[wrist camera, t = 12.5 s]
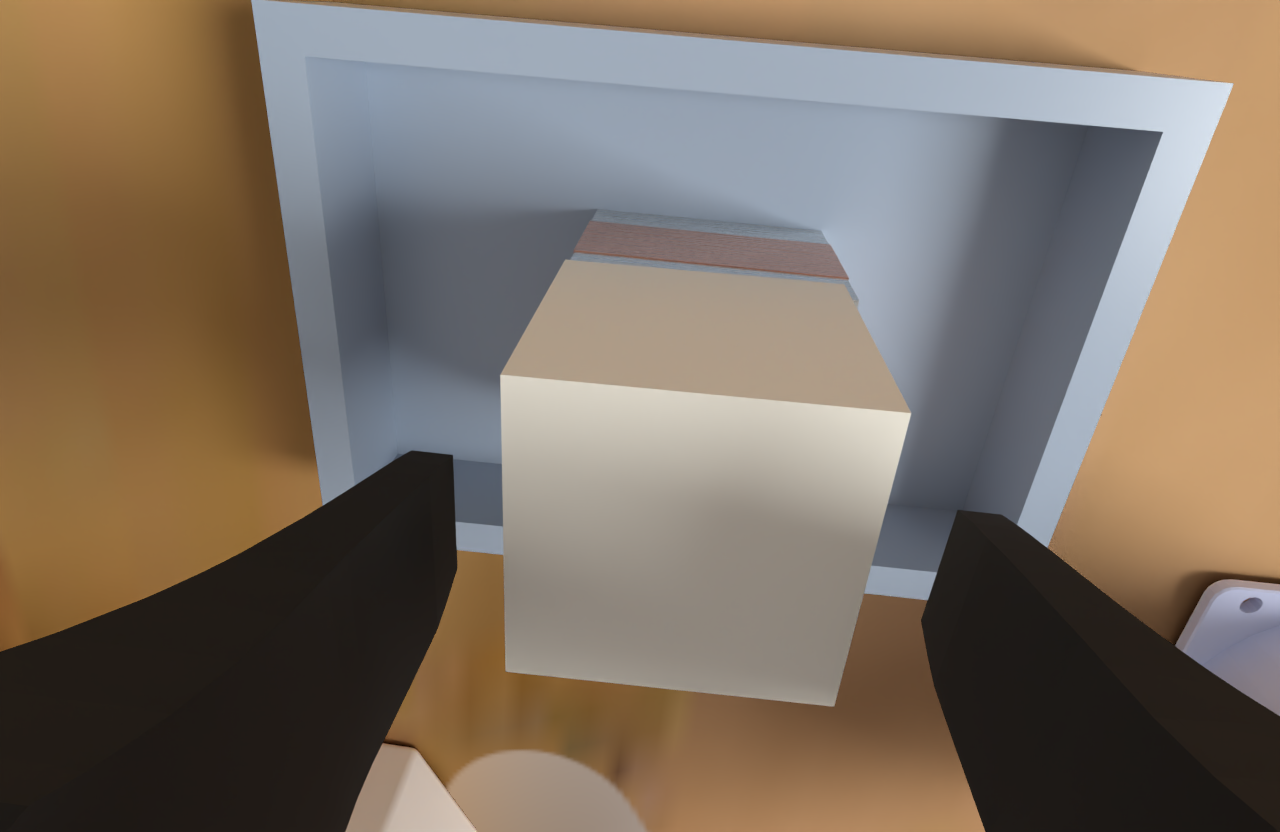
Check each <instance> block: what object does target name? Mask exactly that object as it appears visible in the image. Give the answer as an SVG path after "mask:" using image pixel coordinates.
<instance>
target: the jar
mask: <svg viewBox="0 0 1280 832" xmlns="http://www.w3.org/2000/svg"><path fill="white" fill-rule="evenodd" d="M345 832H477V830H476V828H475V827H474V825H473V824H472V823H471V821H470V820H469V819H468V817H467V816H466V815H465V813H464V812H463V811H462V809H461V808H460V806H459V805H458V804H457V803H456V801H455V800H454V798H453V797H452V796H451V794H450V793H449V792H448V790H447V789H446V788H445V786H444V785H443V784H442V782H441V781H440V780H439V778H438V777H437V776H436V774H435V773H434V772H433V770H432V769H431V768H430V766H429V765H428V764H427V762H426V761H425V759H424V758H423V757H422V755H421V754H420V753H419V751H418V750H416V749H415V748H411V747H405V746H398V745H392V744H385V743H382V745H381V747H380V750H379V752H378V754H377V756H376V758H375V760H374V762H373V764H372V766H371V769H370V771H369V773H368V775H367V778H366V780H365V782H364V785H363V787H362V789H361V792H360V794H359V796H358V799H357V801H356V804H355V807H354V810H353V812H352V815H351V818H350V821H349V823H348V826H347V829H346V831H345Z"/></svg>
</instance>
